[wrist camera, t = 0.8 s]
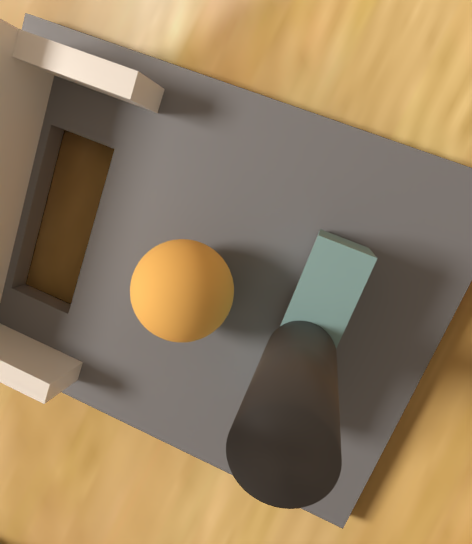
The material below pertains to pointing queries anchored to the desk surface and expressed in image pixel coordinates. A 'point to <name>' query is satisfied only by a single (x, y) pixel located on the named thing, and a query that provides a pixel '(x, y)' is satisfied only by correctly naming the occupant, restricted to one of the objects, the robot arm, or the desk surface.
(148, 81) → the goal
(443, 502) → the desk surface
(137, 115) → the board
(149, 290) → the ball
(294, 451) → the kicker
